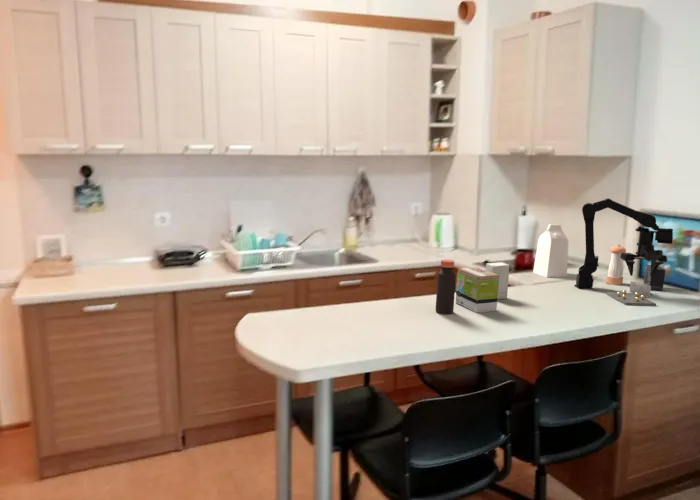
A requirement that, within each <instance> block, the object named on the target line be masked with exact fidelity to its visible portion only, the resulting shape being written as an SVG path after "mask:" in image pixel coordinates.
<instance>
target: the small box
mask: <svg viewBox="0 0 700 500" xmlns="http://www.w3.org/2000/svg"><path fill="white" fill-rule="evenodd" d="M650 270H651V264H645V271H644V276H643V281H642V282H643V283H645V284H647V285H650V286H651V291H659V292H663V291H664V283H665V277H666V268H663V267H662V266H661V265H659V266H658V268H657V269H656V271H655V273H654V275H653V276H650Z"/></svg>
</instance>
